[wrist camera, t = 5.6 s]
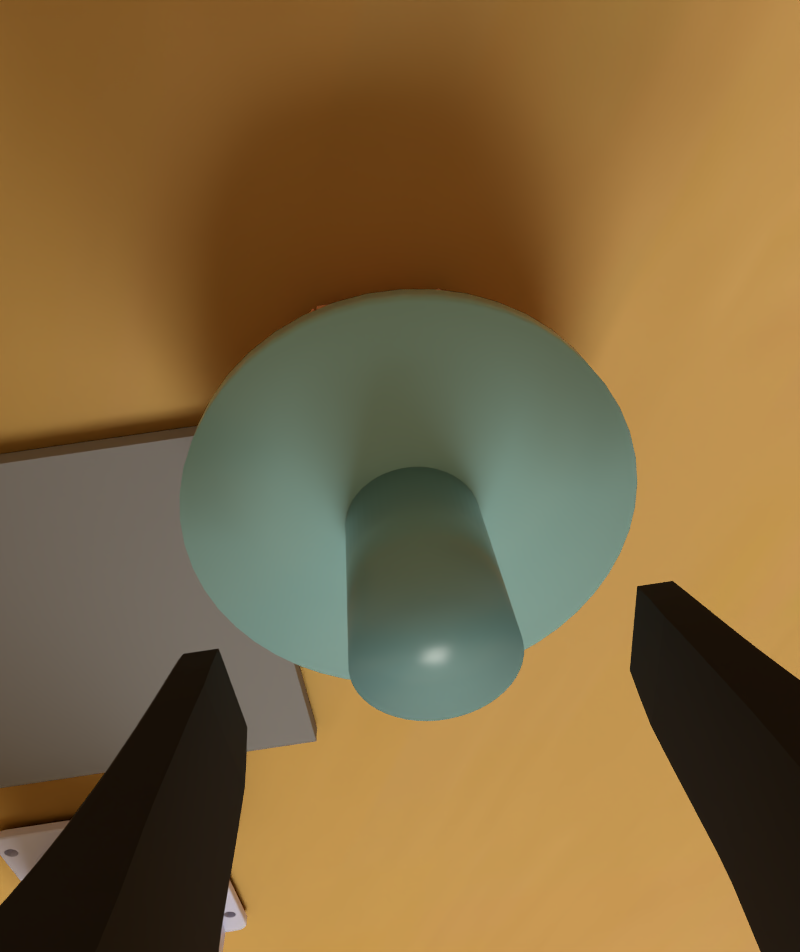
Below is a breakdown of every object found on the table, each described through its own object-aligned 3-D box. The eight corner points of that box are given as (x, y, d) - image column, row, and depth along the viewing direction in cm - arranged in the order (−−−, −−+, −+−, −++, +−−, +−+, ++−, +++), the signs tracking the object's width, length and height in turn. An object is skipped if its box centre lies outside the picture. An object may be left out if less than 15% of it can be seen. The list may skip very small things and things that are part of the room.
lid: (598, 641, 18) (674, 806, 14) (230, 676, 18) (198, 856, 14) (654, 271, 13) (800, 362, 9) (135, 307, 13) (39, 420, 8)
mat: (316, 727, 25) (316, 741, 25) (-1, 774, 25) (-8, 789, 24) (230, 421, 18) (226, 431, 18) (-207, 483, 18) (-223, 495, 18)
